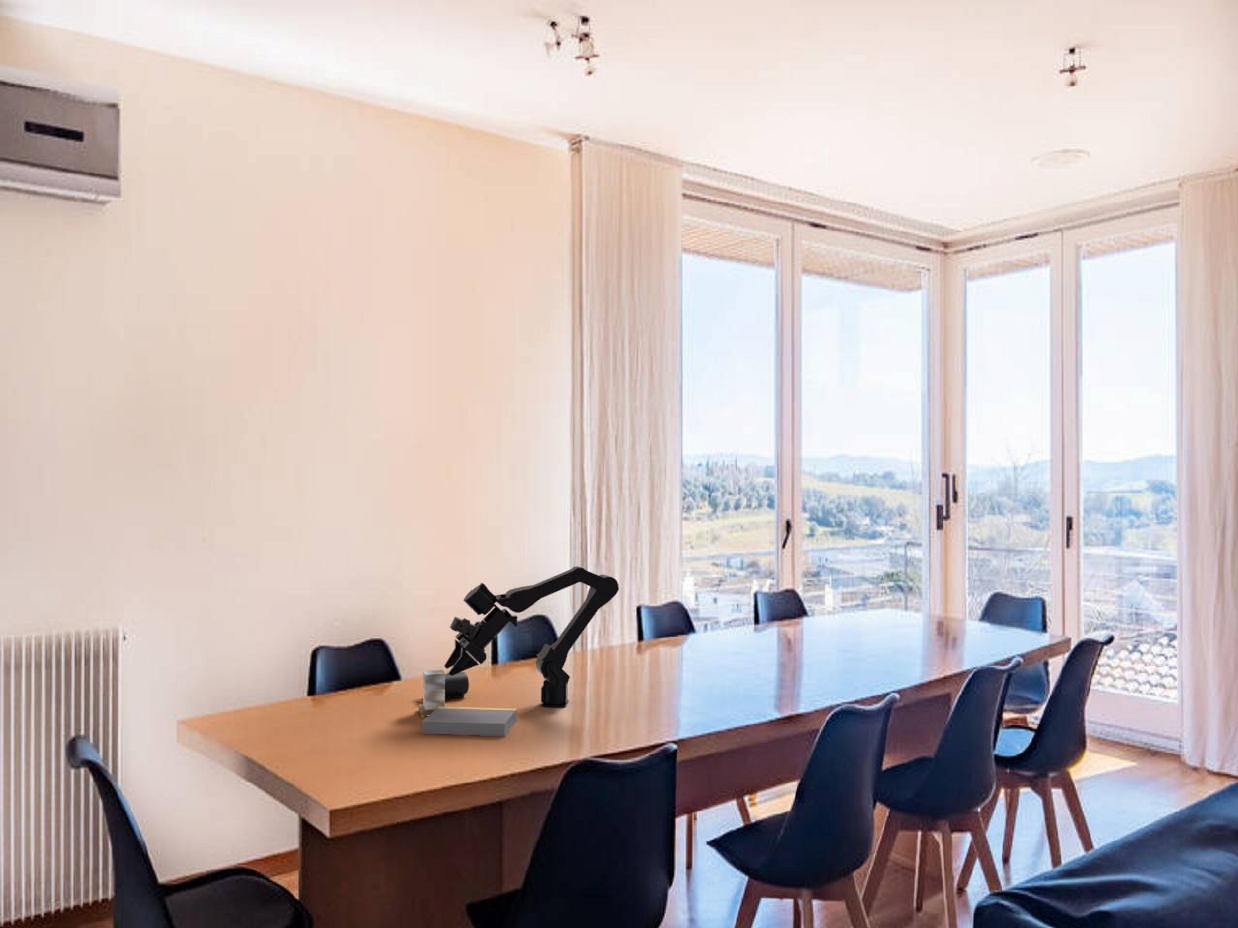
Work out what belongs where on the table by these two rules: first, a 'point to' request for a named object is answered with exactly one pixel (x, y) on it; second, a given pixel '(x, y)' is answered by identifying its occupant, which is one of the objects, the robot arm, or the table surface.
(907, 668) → the table surface
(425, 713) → the wrapped pallet load
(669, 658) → the table surface
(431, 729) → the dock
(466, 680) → the end cap
